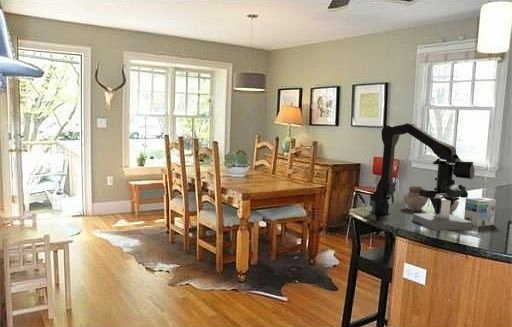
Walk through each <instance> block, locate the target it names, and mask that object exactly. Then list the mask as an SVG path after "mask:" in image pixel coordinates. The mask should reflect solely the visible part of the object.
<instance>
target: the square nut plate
mask: <svg viewBox="0 0 512 327" xmlns="http://www.w3.org/2000/svg"><path fill="white" fill-rule="evenodd" d="M434 215H435V212H433V213H432V212H431V213H428V212H427V213H413V214H412V222H415V223H417V222H418V223H417V224H419V223H420V225H422V226H424V227H426V226H427V228H428V227H429V229H431V230H432V231H433V230H434V231H464V230H465V231H470V230H473V225H472V222H470V221H468V220H465V219H464V218H462V217H458V216H456V215H454V214H453V215H451V214H450V215H449V219H442V220H440V219H437V218H435V217H434Z"/></svg>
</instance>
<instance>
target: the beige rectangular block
mask: <svg viewBox="0 0 512 327" xmlns="http://www.w3.org/2000/svg"><path fill="white" fill-rule="evenodd" d="M450 203H451V201H450V200H447V199H441V201H440V204H439V213H438V214H436V212H435V211H434V213H435V215H434V217H435V218H437V219H440V220H442V219H449V215H450Z"/></svg>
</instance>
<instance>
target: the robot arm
mask: <svg viewBox="0 0 512 327" xmlns="http://www.w3.org/2000/svg"><path fill="white" fill-rule="evenodd" d="M380 133H381V141H382V144H383V151H382V162H381V173H380V174H381V175H380V178H379V180H378V182H377V185H376V188H375V191H374V192H373V193H372V194H371V195H370V200H371V201H372V202H371V210H369V213H372V214H374V215H376V216H382V215H383V216H384V215H385V216H386V215H388V216H389V215H390V213H389V210H390V204H389V200H390V199H391V197H392V196H393V195H394V194H395V192H397V191H396V186H397V182H396V181H393V170H394V162H395V160H394V159H395V151H396V150H395V149H396V145H397V144H398V141H399V139H400V136H401V135H405V134H409V135H410V136H412V137H413V138H415V139H416V140H418V141H419V142H421V143H422V144H424V145H425V146H426V147H428V148H429V149H430V150H431V152H433V154H434V155H435V156H436V157H438V158H437V159H436V160H434V161H433V162H432V165H437V174H436V177H435V178H434V180H435V181H436V186H435V187H434V189H430V188H423V189H421V190H420V191H419V195H420V196H423V197H426V198H428V200H430V202H431V204H432V207H433V209H434V213H435V212H436V214H438V213H439V204H440V201H441V198H440V197H441V196H443V195H447V196H445V199H447V200H450V201H451V203H450V209H451V206H452V205H453V203H454V202H455V201H456V200H457V201H459V200H460V198H463V199H466V198H469V193H468V190H466V185H465V184H456V183H455V182H456V181H455V179H453V175H454V176H455V178H459V179H466V180H473V179H474V177H475V176H474V175H475V171H476V170H475V165H474V161H462V160H461V159H460V157H459V155H458V154H457V149H456V147H455V146H453V145H452V144H448V143H447V142H443V141H441V140H438V139H436V138H435V137H433V136H432V135H430V134H429V133H427V132H426V131H424V130H423V129H421V128H419V126H417V125H415V123H412V122H411V123H409V122H407V123H404V124H398V125H385V126H383V127H382V129H381V132H380Z"/></svg>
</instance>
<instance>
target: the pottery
mask: <svg viewBox="0 0 512 327" xmlns="http://www.w3.org/2000/svg"><path fill="white" fill-rule="evenodd" d="M421 189H424V187H423V186H414V185H413V186H411V185H410V186H409V188H408V190H409V191H408V192H407V193H405V194H403V196H402V197H403V198H402V199H403V201H404V203H405V205H407V208H409V209H408V210H410V209H411V210H410V211H415V210H420V211H422V208H424V207H425V205H427V203H428V201H429V198H426V197H423V196H420V195H419V191H420V190H421ZM445 196H447V195H440V198H441V199H445ZM459 204H460V202H459V200H456V201H455V202H454V203H453V205H452V206H451V209H450V214H451V215H454V212H455V211H456V210H457V209H458V207H459Z"/></svg>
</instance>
